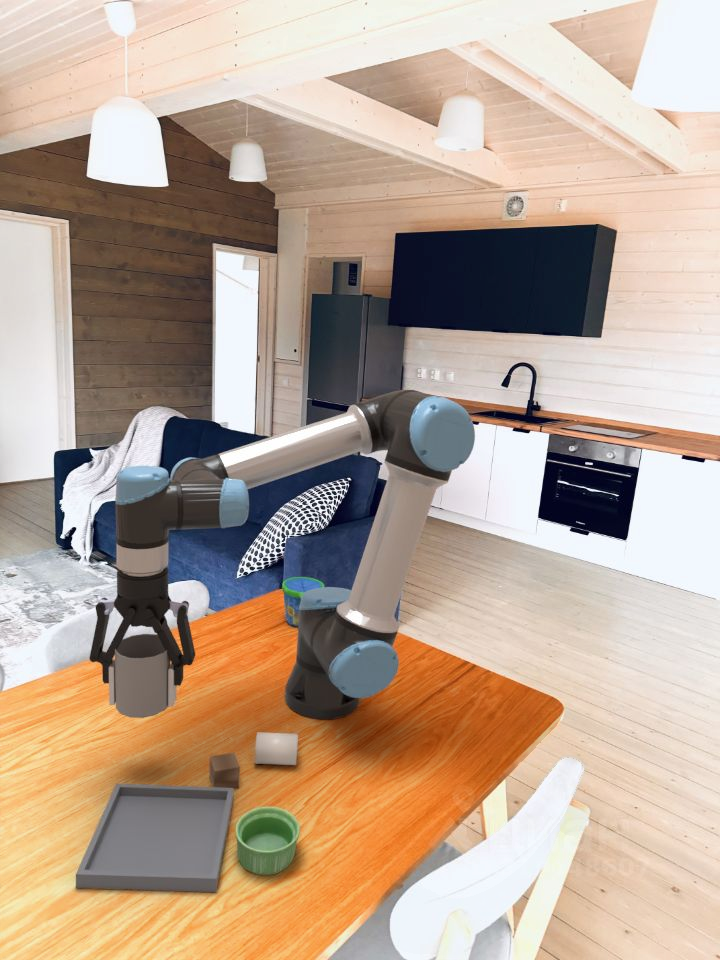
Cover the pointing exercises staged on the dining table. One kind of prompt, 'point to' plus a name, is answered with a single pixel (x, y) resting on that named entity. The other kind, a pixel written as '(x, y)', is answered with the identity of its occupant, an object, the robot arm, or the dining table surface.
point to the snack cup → (296, 595)
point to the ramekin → (266, 840)
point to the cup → (141, 676)
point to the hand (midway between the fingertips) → (143, 701)
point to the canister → (276, 748)
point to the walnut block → (224, 771)
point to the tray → (158, 839)
